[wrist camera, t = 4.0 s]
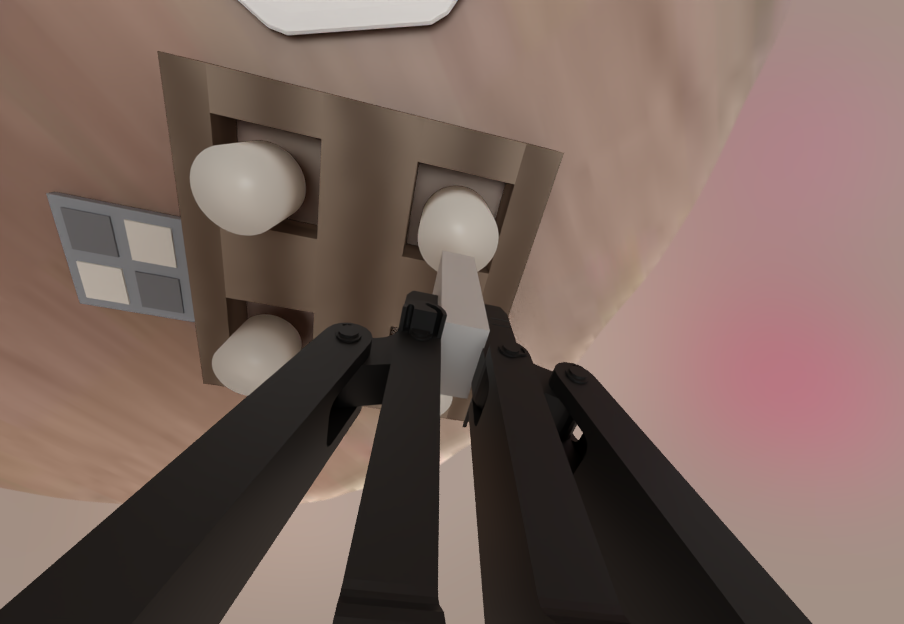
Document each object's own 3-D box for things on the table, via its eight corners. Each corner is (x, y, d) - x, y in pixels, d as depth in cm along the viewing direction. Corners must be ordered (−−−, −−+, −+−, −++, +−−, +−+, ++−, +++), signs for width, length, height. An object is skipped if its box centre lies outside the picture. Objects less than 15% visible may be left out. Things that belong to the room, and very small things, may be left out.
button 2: (231, 210, 24) (195, 226, 20) (226, 131, 22) (184, 134, 18) (305, 225, 24) (282, 243, 21) (307, 150, 22) (281, 156, 19)
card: (86, 300, 30) (78, 304, 29) (54, 191, 26) (44, 193, 25) (199, 318, 31) (194, 323, 30) (186, 217, 27) (180, 220, 26)
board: (222, 362, 33) (203, 383, 31) (191, 58, 22) (157, 50, 20) (469, 400, 36) (472, 422, 34) (551, 149, 25) (563, 153, 23)
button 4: (415, 247, 25) (411, 268, 22) (428, 178, 23) (425, 189, 20) (480, 261, 26) (486, 283, 23) (498, 194, 24) (508, 207, 20)
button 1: (241, 358, 30) (215, 391, 26) (238, 309, 27) (208, 337, 24) (301, 367, 30) (282, 400, 27) (302, 320, 28) (282, 349, 25)
